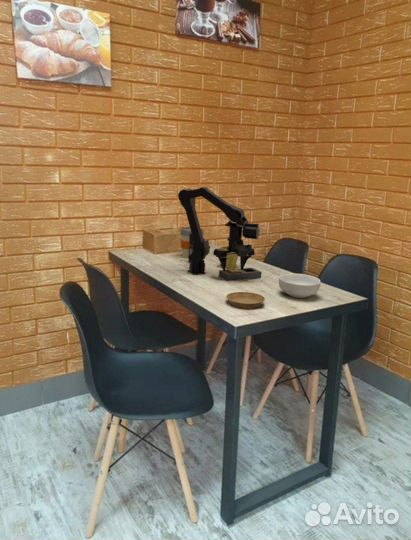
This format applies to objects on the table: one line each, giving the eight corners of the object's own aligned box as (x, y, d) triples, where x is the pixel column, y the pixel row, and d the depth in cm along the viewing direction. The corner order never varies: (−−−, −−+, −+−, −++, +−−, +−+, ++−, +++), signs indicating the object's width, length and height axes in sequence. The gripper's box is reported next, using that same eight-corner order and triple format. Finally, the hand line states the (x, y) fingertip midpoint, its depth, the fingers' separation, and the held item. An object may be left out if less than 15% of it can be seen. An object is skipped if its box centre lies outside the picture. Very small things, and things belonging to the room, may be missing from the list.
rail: (227, 281, 203) (227, 274, 202) (218, 276, 210) (219, 270, 209) (261, 277, 211) (261, 271, 210) (251, 273, 218) (252, 267, 217)
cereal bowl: (269, 291, 191) (270, 275, 190) (299, 287, 199) (301, 271, 198) (295, 303, 177) (297, 286, 175) (327, 299, 185) (329, 282, 183)
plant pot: (243, 267, 228) (244, 248, 226) (227, 270, 222) (228, 250, 220) (229, 263, 236) (231, 244, 234) (214, 265, 230) (215, 246, 227)
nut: (231, 279, 206) (231, 270, 205) (226, 277, 209) (226, 268, 208) (238, 278, 208) (239, 270, 207) (233, 276, 211) (234, 268, 210)
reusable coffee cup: (202, 260, 240) (203, 231, 236) (178, 258, 240) (179, 230, 236) (202, 254, 252) (204, 228, 249) (180, 253, 252) (181, 226, 249)
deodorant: (201, 261, 236) (202, 233, 232) (197, 264, 231) (198, 235, 227) (190, 260, 238) (191, 232, 234) (186, 262, 232) (187, 233, 229)
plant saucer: (223, 308, 168) (223, 301, 168) (228, 296, 182) (228, 290, 182) (263, 312, 166) (264, 305, 165) (265, 300, 180) (265, 293, 179)
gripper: (226, 241, 193) (223, 276, 197) (262, 239, 201) (259, 273, 205) (213, 236, 202) (211, 270, 206) (249, 234, 211) (246, 267, 215)
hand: (233, 270), depth 208 cm, fingers open, 9 cm apart
